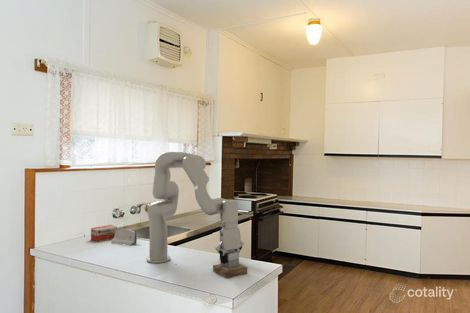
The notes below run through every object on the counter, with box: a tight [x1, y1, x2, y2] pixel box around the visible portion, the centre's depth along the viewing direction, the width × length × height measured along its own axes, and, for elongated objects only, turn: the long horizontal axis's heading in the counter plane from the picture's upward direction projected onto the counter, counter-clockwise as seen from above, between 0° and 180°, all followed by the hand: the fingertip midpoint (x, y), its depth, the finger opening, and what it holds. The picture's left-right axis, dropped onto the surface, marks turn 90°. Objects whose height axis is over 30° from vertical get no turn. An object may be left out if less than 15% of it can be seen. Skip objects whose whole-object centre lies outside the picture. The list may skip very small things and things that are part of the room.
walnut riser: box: [212, 263, 248, 279], centre depth 171 cm, size 12×12×3 cm
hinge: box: [110, 228, 138, 246], centre depth 228 cm, size 17×5×10 cm, turn 67°
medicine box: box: [90, 224, 118, 242], centre depth 239 cm, size 15×8×8 cm, turn 138°
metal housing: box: [219, 250, 240, 269], centre depth 171 cm, size 6×7×7 cm
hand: (229, 261), depth 171 cm, fingers open, 7 cm apart
